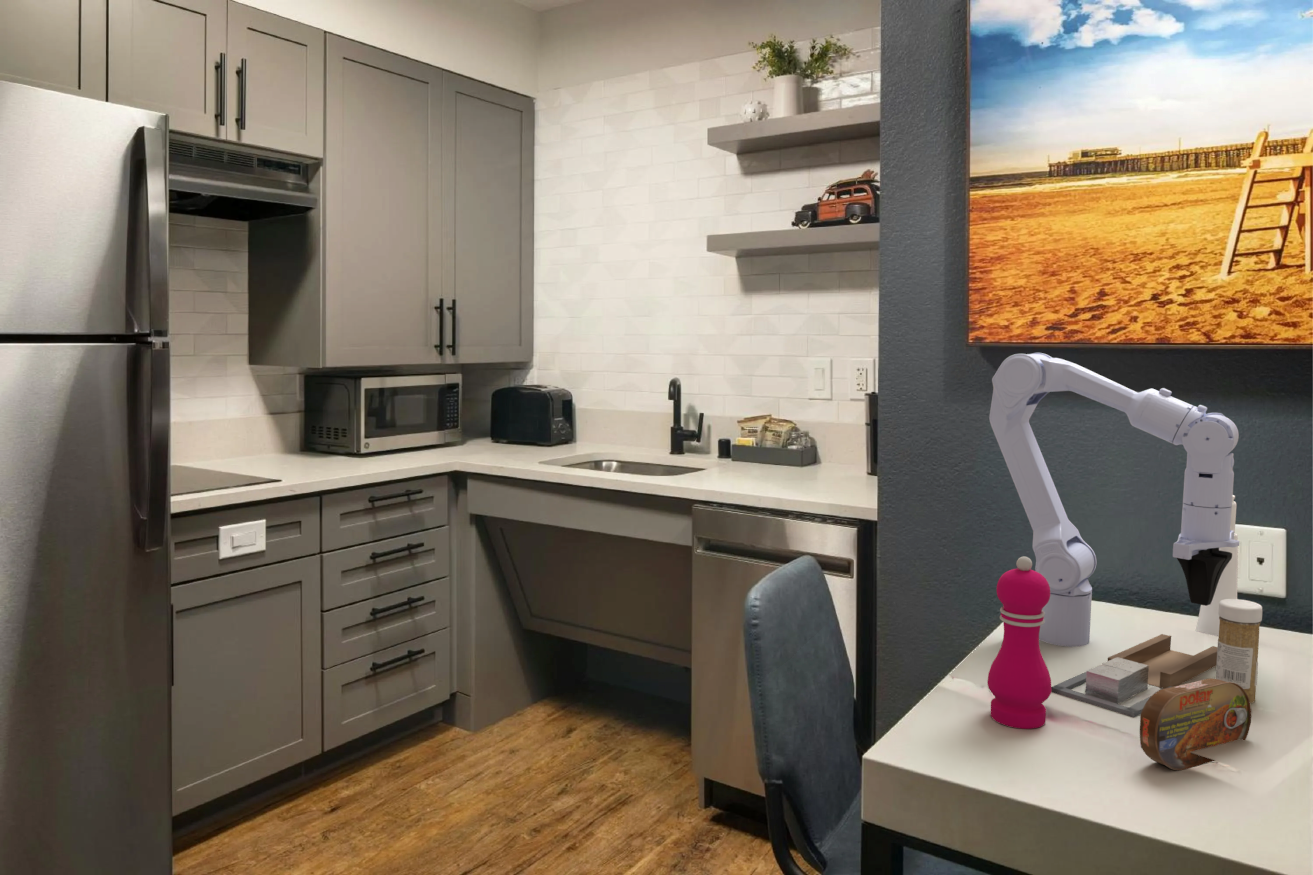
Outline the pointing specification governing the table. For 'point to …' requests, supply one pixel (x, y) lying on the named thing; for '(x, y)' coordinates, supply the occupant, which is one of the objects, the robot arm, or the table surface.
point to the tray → (1080, 679)
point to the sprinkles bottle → (1239, 644)
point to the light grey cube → (1109, 683)
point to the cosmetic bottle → (1221, 587)
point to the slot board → (1168, 661)
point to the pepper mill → (1020, 650)
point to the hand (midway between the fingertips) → (1200, 603)
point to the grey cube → (1136, 668)
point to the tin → (1193, 721)
